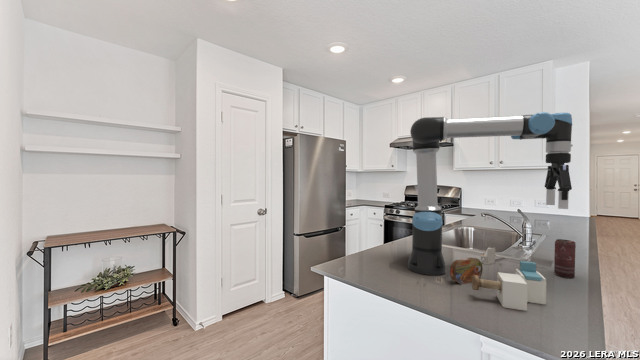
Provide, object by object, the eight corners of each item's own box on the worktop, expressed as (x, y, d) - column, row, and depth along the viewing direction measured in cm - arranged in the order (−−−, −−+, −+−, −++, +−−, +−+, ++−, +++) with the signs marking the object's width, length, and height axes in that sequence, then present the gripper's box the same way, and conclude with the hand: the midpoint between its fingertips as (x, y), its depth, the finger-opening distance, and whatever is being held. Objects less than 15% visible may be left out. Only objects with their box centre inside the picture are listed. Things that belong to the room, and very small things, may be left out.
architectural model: (479, 263, 125) (480, 247, 125) (489, 261, 128) (489, 245, 128) (487, 266, 122) (487, 249, 122) (496, 263, 125) (497, 247, 125)
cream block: (502, 307, 83) (503, 281, 83) (497, 296, 91) (497, 272, 91) (526, 310, 81) (527, 284, 81) (518, 299, 89) (519, 274, 88)
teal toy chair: (526, 279, 87) (526, 267, 87) (519, 271, 93) (519, 260, 93) (541, 280, 85) (541, 268, 85) (533, 273, 92) (534, 262, 92)
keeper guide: (521, 301, 87) (521, 276, 87) (514, 292, 94) (515, 268, 94) (545, 304, 85) (546, 278, 85) (537, 295, 92) (538, 271, 91)
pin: (473, 292, 88) (473, 277, 88) (471, 286, 92) (472, 272, 92) (521, 298, 83) (521, 283, 83) (516, 292, 87) (517, 278, 87)
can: (579, 279, 106) (580, 242, 106) (560, 277, 107) (561, 242, 107) (568, 273, 112) (569, 239, 112) (550, 272, 113) (551, 238, 113)
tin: (455, 285, 99) (455, 262, 99) (448, 282, 102) (448, 260, 102) (483, 279, 106) (483, 257, 105) (475, 276, 108) (476, 255, 108)
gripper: (585, 150, 96) (583, 211, 96) (558, 154, 119) (556, 204, 119) (557, 150, 99) (555, 209, 100) (536, 155, 122) (535, 203, 122)
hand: (556, 206), depth 109 cm, fingers open, 13 cm apart
